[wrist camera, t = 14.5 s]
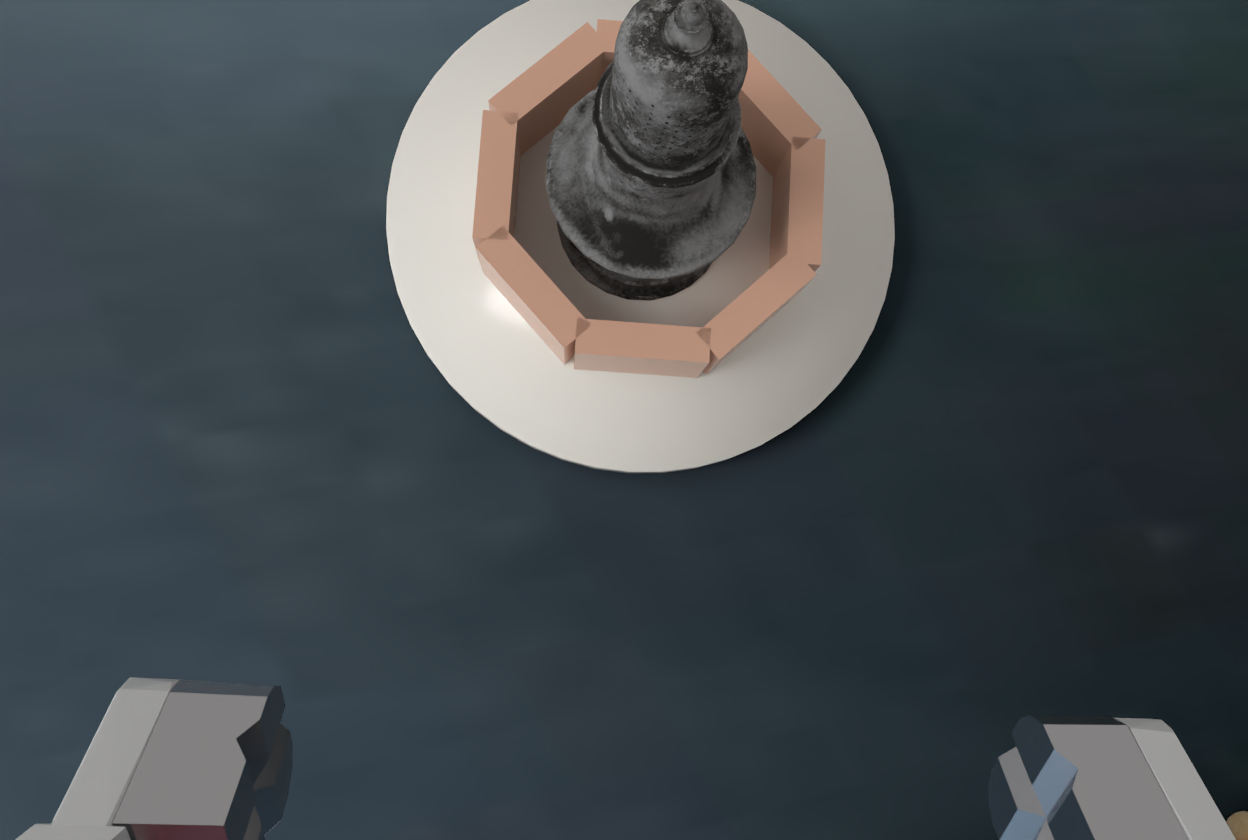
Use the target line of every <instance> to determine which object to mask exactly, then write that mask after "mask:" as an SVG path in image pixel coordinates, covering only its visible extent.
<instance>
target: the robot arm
mask: <svg viewBox="0 0 1248 840" xmlns="http://www.w3.org/2000/svg"><path fill="white" fill-rule="evenodd" d="M284 708H285V702H284V698H283V694H282V689H281V686H274V685H258V684H241V683H224V682H208V681H191V680H179V679H156V678H133V677H130V678H129V679H128V680H127V681H126V682H125V683H124V684H123V685H122V686H121V687H120V689H119V690H118V691H117V692H116V694H115V696H114V698H113V700H112V702H111V704H110V706H109V708H108V710H107V712H106V714H105V716H104V718H103V720H102V722H101V724H100V726H99V728H98V730H97V732H96V734H95V736H94V738H93V740H92V742H91V744H90V746H89V748H88V750H87V752H86V754H85V756H84V758H83V760H82V762H81V764H80V766H79V768H78V770H77V772H76V774H75V776H74V779H73V781H72V783H71V785H70V787H69V789H68V791H67V793H66V795H65V797H64V799H63V801H62V803H61V805H60V807H59V809H58V811H57V813H56V815H55V817H54V819H53V821H52V823H51V824H35V825H33V826H32V827H31V828H29V829H28V830H27V831H26V832H24V833H23V834H22V835H21V836H19V837H18V838H17V839H16V840H265V837H264V835H266V834H267V833H268V832H269V831H270V830H271V829H272V828H273V827H274V826H275V825H276V824H277V823H278V822H279V821H280V820H281V819H282V815H283V811H284V807H285V804H286V800H287V796H288V792H289V785H290V778H291V771H292V741H291V734H290V731H289V730H288V729H286V728H285V727H284V726H283V725H281V724H280V721H281V718H282V714H283V711H284ZM1011 734H1012V737H1013V739H1014V742H1015V744H1016V747H1015V748H1013V749H1011V750H1010V751H1008V752H1006V753H1005V754H1003V755H1001V756H1000V757H998V759H997V761H996V763H995V765H994V767H993V769H992V771H991V773H990V775H989V789H988V803H989V809H990V814H991V820H992V823H993V825H994V828H995V831H996V834H997V837H998V840H1236V839H1235V837H1234V835H1233V833H1232V832H1231V830H1230V828H1229V826H1228V825H1227V823H1226V821H1225V820H1224V818H1223V816H1222V814H1221V813H1220V811H1219V809H1218V807H1217V806H1216V804H1215V802H1214V800H1213V799H1212V797H1211V795H1210V794H1209V792H1208V790H1207V788H1206V787H1205V785H1204V783H1203V781H1202V780H1201V778H1200V776H1199V775H1198V773H1197V771H1196V769H1195V768H1194V766H1193V764H1192V762H1191V761H1190V759H1189V757H1188V755H1187V754H1186V752H1185V750H1184V749H1183V747H1182V745H1181V743H1180V742H1179V740H1178V738H1177V736H1176V735H1175V733H1174V732H1173V730H1172V729H1171V728H1170V727H1169V726H1168V725H1167V724H1166V723H1164V722H1163V721H1162V720H1158V719H1146V718H1112V717H1110V716H1082V715H1040V714H1029V715H1027V716H1025V717H1023V718H1021V719H1019V721H1018V723H1017V724H1016V726H1015V728H1014V729H1013V731H1012V733H1011Z"/></svg>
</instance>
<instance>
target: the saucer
mask: <svg viewBox="0 0 1248 840" xmlns="http://www.w3.org/2000/svg"><path fill="white" fill-rule="evenodd" d="M638 1H639V0H530V1H528V2H526V3H524V4H522V5H520V6H518V7H516V8H514V9H512V10H510V11H508V12H506V13H504V14H503V15H501V16H500V17H499V18H497V19H496V20H494V21H493V22H491V23H490V24H488V25H487V26H485V27H484V28H482V29H481V30H479V31H478V32H477V33H476V34H475V35H473V36H472V37H471V38H470V39H469V40H468V41H467V42H466V43H464V44H463V45H462V46H461V47H460V48H459V49H458V50H457V51H455V52H454V53H453V55H452V56H451V57H450V58H449V59H448V60H447V62H446V63H445V64H444V65H443V66H442V67H441V69H440V70H439V71H438V72H437V73H436V74H435V76H434V77H433V78H432V80H431V81H430V83H429V84H428V86H427V87H426V89H425V90H424V92H423V94H422V95H421V97H420V98H419V100H418V101H417V103H416V105H415V107H414V109H413V111H412V113H411V115H410V117H409V119H408V122H407V124H406V126H405V128H404V130H403V132H402V135H401V138H400V141H399V145H398V148H397V151H396V154H395V157H394V161H393V164H392V170H391V176H390V182H389V188H388V194H387V218H386V232H387V241H388V250H389V259H390V264H391V268H392V272H393V276H394V280H395V284H396V288H397V292H398V295H399V298H400V300H401V303H402V305H403V308H404V310H405V313H406V315H407V318H408V320H409V323H410V325H411V327H412V329H413V330H414V332H415V334H416V336H417V337H418V339H419V341H420V343H421V344H422V346H423V348H424V350H425V351H426V353H427V355H428V356H429V358H430V359H431V360H432V362H433V363H434V364H435V366H436V367H437V368H438V370H439V371H440V372H441V374H442V375H443V376H444V377H445V379H446V380H447V381H448V383H449V384H450V385H451V387H452V388H453V389H454V390H455V391H456V392H457V393H458V394H459V395H460V396H461V397H462V398H463V399H464V400H465V401H466V402H467V403H468V404H469V405H470V406H471V407H472V408H473V409H474V410H475V411H477V412H478V413H479V414H480V415H482V416H483V417H484V418H486V419H487V420H488V421H490V422H491V423H492V424H494V425H495V426H496V427H497V428H499V429H500V430H501V431H503V432H505V433H506V434H508V435H510V436H512V437H513V438H515V439H517V440H519V441H520V442H522V443H524V444H525V445H527V446H529V447H531V448H533V449H535V450H538V451H540V452H543V453H545V454H548V455H550V456H552V457H555V458H557V459H560V460H562V461H566V462H570V463H573V464H577V465H581V466H585V467H588V468H592V469H598V470H605V471H613V472H621V473H667V472H675V471H682V470H690V469H695V468H699V467H703V466H707V465H710V464H714V463H718V462H721V461H725V460H727V459H730V458H732V457H735V456H737V455H739V454H742V453H744V452H747V451H749V450H751V449H754V448H756V447H758V446H760V445H762V444H764V443H765V442H767V441H769V440H770V439H772V438H774V437H776V436H777V435H779V434H781V433H782V432H784V431H786V430H788V429H789V428H791V427H792V426H793V425H795V424H796V423H797V422H798V421H800V420H801V419H802V418H804V417H805V416H806V415H807V414H809V413H810V412H811V411H812V410H814V409H815V408H816V407H817V406H818V405H819V404H820V403H821V402H822V401H823V400H824V399H825V398H826V397H827V396H828V395H829V394H830V393H831V392H832V391H833V390H834V389H835V388H836V387H837V386H838V385H839V383H840V382H841V381H842V379H843V378H844V377H845V375H846V374H847V372H848V371H849V370H850V368H851V367H852V366H853V364H854V363H855V362H856V360H857V359H858V357H859V355H860V354H861V352H862V350H863V348H864V346H865V344H866V343H867V341H868V339H869V337H870V335H871V333H872V331H873V330H874V327H875V324H876V322H877V319H878V316H879V314H880V311H881V308H882V306H883V303H884V301H885V297H886V292H887V288H888V284H889V279H890V275H891V271H892V263H893V252H894V241H895V229H894V205H893V200H892V194H891V188H890V182H889V177H888V172H887V169H886V166H885V163H884V160H883V156H882V153H881V150H880V147H879V144H878V142H877V139H876V137H875V135H874V133H873V131H872V129H871V126H870V124H869V122H868V120H867V118H866V116H865V114H864V112H863V111H862V109H861V107H860V106H859V104H858V103H857V101H856V99H855V98H854V96H853V95H852V93H851V91H850V90H849V88H848V87H847V86H846V84H845V83H844V82H843V81H842V80H841V78H840V77H839V76H838V75H837V73H836V72H835V71H834V70H833V69H832V67H831V66H830V65H829V64H828V63H827V62H826V61H825V60H824V59H823V58H822V57H821V56H820V55H819V54H818V53H817V52H816V51H815V50H814V49H813V48H812V47H811V46H810V45H809V44H808V43H807V42H805V41H804V40H803V39H802V38H800V37H799V36H798V35H796V34H795V33H794V32H792V31H791V30H790V29H788V28H787V27H785V26H784V25H783V24H781V23H780V22H779V21H777V20H775V19H773V18H772V17H770V16H768V15H766V14H765V13H763V12H761V11H759V10H758V9H756V8H754V7H752V6H750V5H748V4H746V3H743V2H741V1H738V0H722V1H723V2H724V3H725V4H726V5H727V6H728V7H729V8H730V9H731V10H732V11H733V12H734V13H735V15H736V17H737V18H738V20H739V22H740V24H741V25H742V27H743V29H744V33H745V37H746V41H747V44H748V69H747V73H746V76H745V80H744V83H743V86H742V88H741V91H740V93H739V96H738V98H739V102H740V106H741V128H742V130H743V131H744V133H745V135H746V137H747V138H748V140H749V142H750V146H751V150H752V153H753V157H754V161H755V165H756V196H755V199H754V203H753V206H752V209H751V213H750V216H749V220H748V221H747V223H746V225H745V226H744V228H743V229H742V231H741V233H740V234H739V236H738V237H737V239H736V241H735V242H734V244H732V245H731V246H730V247H729V248H728V249H727V250H726V251H725V252H724V253H723V254H721V255H720V256H719V257H718V258H717V259H716V260H715V261H714V262H712V264H711V265H710V267H709V268H708V270H707V272H706V273H704V274H703V275H702V276H701V277H700V278H699V279H698V280H697V281H696V282H695V283H693V284H692V285H691V286H690V287H688V288H686V289H684V290H682V291H680V292H678V293H676V294H674V295H672V296H669V297H664V298H659V299H655V300H628V299H625V298H621V297H618V296H615V295H612V294H608V293H606V292H604V291H603V290H601V289H599V288H598V287H596V286H595V285H593V284H591V283H590V282H588V281H587V280H586V279H585V278H584V277H583V276H582V275H581V274H580V273H579V272H578V271H577V270H576V268H575V267H574V266H573V265H572V264H571V262H570V260H569V258H568V256H567V254H566V253H565V251H564V249H563V247H562V244H561V240H560V236H559V232H558V227H557V219H556V217H555V216H554V214H553V212H552V209H551V205H550V201H549V196H548V192H547V188H546V163H547V154H548V151H549V148H550V145H551V142H552V139H553V136H554V133H555V130H556V129H557V127H558V126H559V124H560V123H561V121H562V120H563V119H564V117H565V116H566V114H567V113H568V111H569V110H570V108H572V107H573V106H574V105H575V104H576V103H577V102H579V101H580V100H581V99H582V98H583V97H584V96H586V95H587V94H588V93H589V92H590V91H593V90H595V89H596V87H597V84H598V81H599V80H600V78H601V77H602V75H603V73H604V72H605V70H606V69H607V67H608V66H609V65H610V64H611V63H612V62H613V60H614V51H615V42H616V39H617V35H618V32H619V29H620V26H621V24H622V22H623V21H624V19H625V17H626V16H627V14H628V13H629V11H630V10H631V8H632V7H633V6H634V5H635V4H636V3H637V2H638Z"/></svg>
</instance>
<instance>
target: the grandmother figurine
mask: <svg viewBox="0 0 1248 840" xmlns="http://www.w3.org/2000/svg"><path fill="white" fill-rule="evenodd" d="M1226 823H1227V825H1228V826H1229V828H1230V830H1231V832H1232V833H1233V835H1234V837H1235V839H1236V840H1248V812H1247V811H1240V812H1236V813H1234V814H1233V815H1231V816H1230V817H1229V818H1228V820H1227V821H1226Z"/></svg>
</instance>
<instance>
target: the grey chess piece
mask: <svg viewBox="0 0 1248 840" xmlns="http://www.w3.org/2000/svg"><path fill="white" fill-rule="evenodd" d="M747 69H748V44H747V41H746V37H745V33H744V29H743V27H742V25H741V24H740V22H739V20H738V18H737V17H736V15H735V13H734V12H733V11H732V10H731V9H730V8H729V7H728V6H727V5H726V4H725V3H724V2H723V1H722V0H639V1H638V2H637V3H636V4H635V5H634V6H633V7H632V8H631V10H630V11H629V13H628V14H627V16H626V17H625V19H624V21H623V22H622V24H621V26H620V29H619V32H618V35H617V39H616V42H615V51H614V60H613V62H612V63H611V64H610V65H609V66H608V67H607V69H606V70H605V72H604V73H603V75H602V77H601V78H600V80H599V81H598V84H597V87H596V89H595V90H593V91H590V92H589V93H588V94H587V95H586V96H584V97H583V98H582V99H581V100H580V101H579V102H577V103H576V104H575V105H574V106H573V107H572V108H570V110H569V111H568V113H567V114H566V116H565V117H564V119H563V120H562V121H561V123H560V124H559V126H558V127H557V129H556V130H555V133H554V136H553V139H552V142H551V145H550V148H549V151H548V154H547V163H546V188H547V192H548V196H549V201H550V205H551V209H552V212H553V214H554V216H555V217H556V219H557V227H558V232H559V236H560V240H561V244H562V247H563V249H564V251H565V253H566V254H567V256H568V258H569V260H570V262H571V264H572V265H573V266H574V267H575V268H576V270H577V271H578V272H579V273H580V274H581V275H582V276H583V277H584V278H585V279H586V280H587V281H588V282H590V283H591V284H593V285H595V286H596V287H598V288H599V289H601V290H603V291H604V292H606V293H608V294H612V295H615V296H618V297H621V298H625V299H628V300H655V299H659V298H664V297H669V296H672V295H674V294H676V293H678V292H680V291H682V290H684V289H686V288H688V287H690V286H691V285H692V284H693V283H695V282H696V281H697V280H698V279H699V278H700V277H701V276H702V275H703V274H704V273H706V272H707V270H708V268H709V267H710V265H711V264H712V262H714V261H715V260H716V259H717V258H718V257H719V256H720V255H721V254H723V253H724V252H725V251H726V250H727V249H728V248H729V247H730V246H731V245H732V244H734V242H735V241H736V239H737V237H738V236H739V234H740V233H741V231H742V229H743V228H744V226H745V225H746V223H747V221H748V220H749V216H750V213H751V209H752V206H753V203H754V199H755V196H756V165H755V161H754V157H753V153H752V150H751V146H750V142H749V140H748V138H747V137H746V135H745V133H744V131H743V130H742V128H741V106H740V102H739V98H738V96H739V93H740V91H741V88H742V86H743V83H744V80H745V76H746V73H747Z"/></svg>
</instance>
